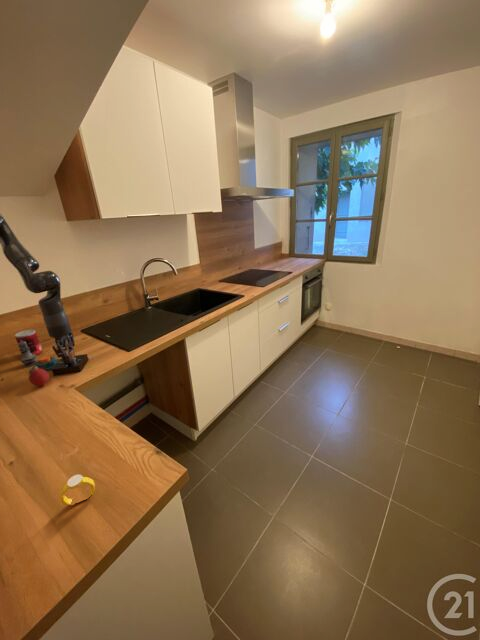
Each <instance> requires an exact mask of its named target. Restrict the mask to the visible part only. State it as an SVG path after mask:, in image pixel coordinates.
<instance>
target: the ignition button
mask: <svg viewBox="0 0 480 640" xmlns="http://www.w3.org/2000/svg"><path fill="white" fill-rule="evenodd" d="M50 357H51V356H49V355H45V356H42V357H40V358H39V360H40V363H46V362H49V361H50V360H51V359H50ZM39 360H38V361H39Z"/></svg>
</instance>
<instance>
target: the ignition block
mask: <svg viewBox="0 0 480 640" xmlns="http://www.w3.org/2000/svg"><path fill="white" fill-rule="evenodd" d="M49 357H50V359H51V360H50V361H49V362H46V363H40V360H37V361H38V362H37V363H36V365H34V366H32V368H31V369H30V370H29V371H28V372H29V375H30V374H31V372H32V371H33V370H34V368H35V367H38V368H39V369H44V370H46V371H47V372H52V368H53V367H54V366H55V365H56V364H57V363H58V362H59V360H60V359H61V358H55V357H54V356H49Z"/></svg>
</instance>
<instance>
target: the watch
mask: <svg viewBox="0 0 480 640" xmlns="http://www.w3.org/2000/svg"><path fill="white" fill-rule="evenodd" d="M82 484H86V485H89V486H91V490H90V491H91V495H92V496H93V495H94V493H95V490H96V483H95V481H94V480H93V479H92V478H90V477H88V476H83V475H82V474H74V475H72V476H71V477H70V478H69V479H68V481H67V482H66V483H65V484H64V486H63V487H62V489H61V492H60V493H61V494H60V499H61V502H62V504H64V505H66V506H71V505H70V504H71V502H72V499H73V498H68V497H67V496H66V495H65V494H66V492H67V491H68V490H69V489H71V490H73V489H76V488H78V487H80V486H81V485H82ZM91 495H90V496H91ZM92 496H91V497H92Z"/></svg>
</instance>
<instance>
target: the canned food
mask: <svg viewBox="0 0 480 640" xmlns="http://www.w3.org/2000/svg"><path fill="white" fill-rule="evenodd" d="M14 338H15V340H16V343H17V344H18V343H19V342H20V340H22V341H25V342H26V343H27V346H28V347H29V348H30V349H29V350H30V352H31V354H36V357H37V356H39V355H41V354H42V353H43V347H42V345H41V342H40V339H39V337H38V334H37V331H36V329H26V330H22V331H18V332H17V333H15V334H14Z"/></svg>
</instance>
